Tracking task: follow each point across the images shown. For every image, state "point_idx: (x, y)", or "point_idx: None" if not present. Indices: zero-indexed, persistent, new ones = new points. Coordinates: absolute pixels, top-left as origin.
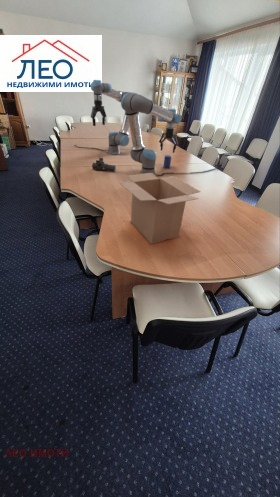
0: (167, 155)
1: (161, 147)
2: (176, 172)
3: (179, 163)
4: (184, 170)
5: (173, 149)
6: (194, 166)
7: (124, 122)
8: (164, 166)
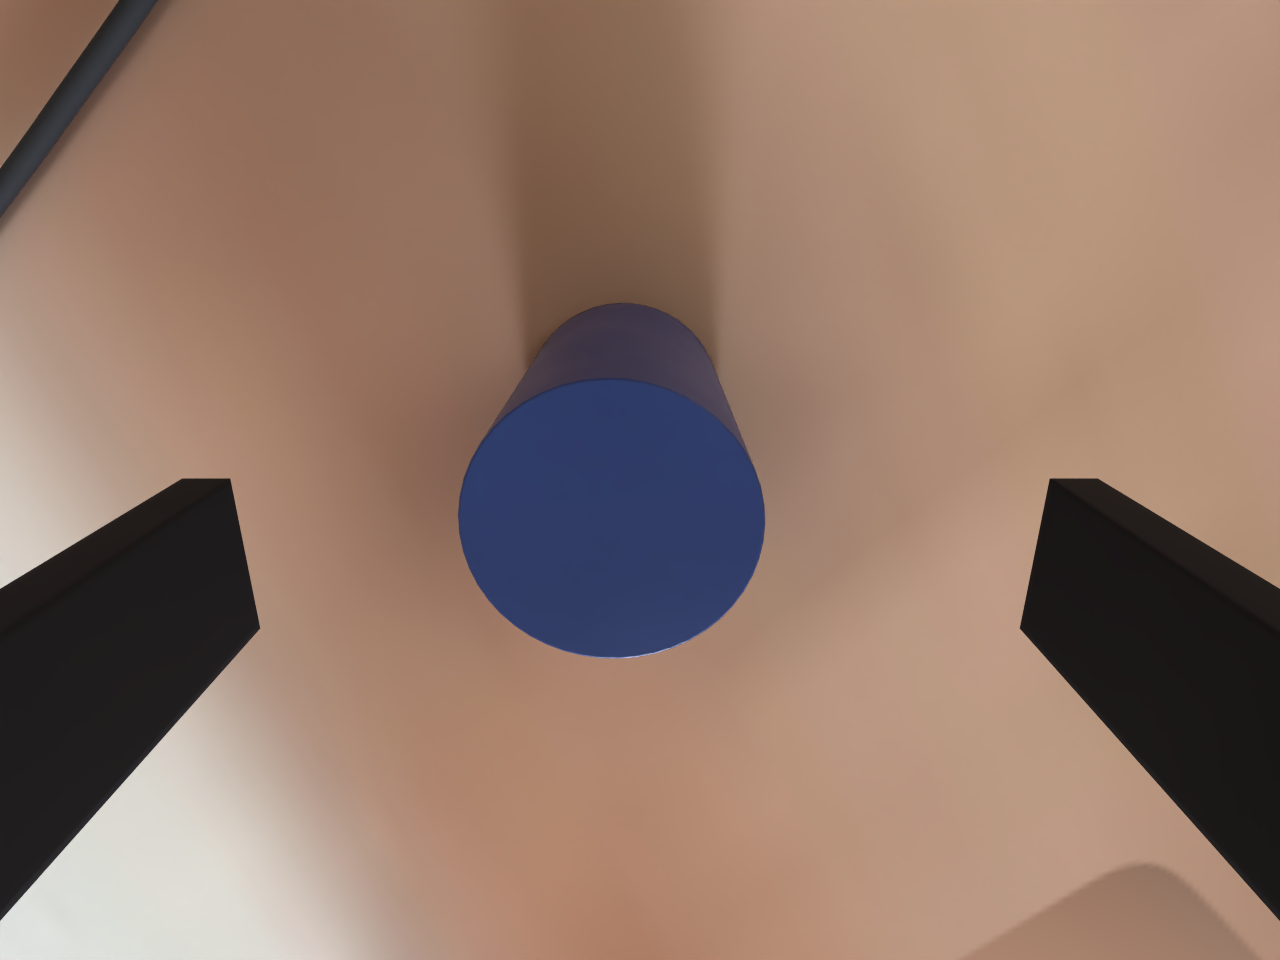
0: (684, 609)
1: (1181, 564)
2: (184, 175)
3: (542, 897)
4: None
5: (54, 571)
6: (190, 910)
7: None
8: (655, 314)
